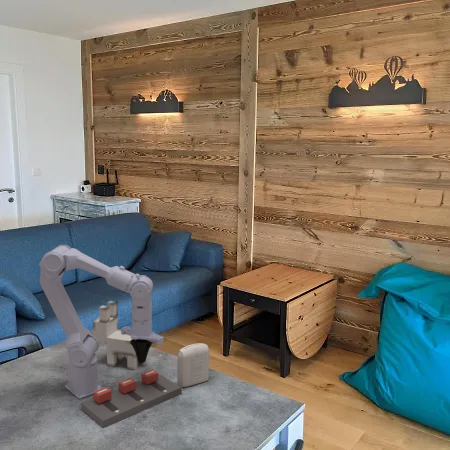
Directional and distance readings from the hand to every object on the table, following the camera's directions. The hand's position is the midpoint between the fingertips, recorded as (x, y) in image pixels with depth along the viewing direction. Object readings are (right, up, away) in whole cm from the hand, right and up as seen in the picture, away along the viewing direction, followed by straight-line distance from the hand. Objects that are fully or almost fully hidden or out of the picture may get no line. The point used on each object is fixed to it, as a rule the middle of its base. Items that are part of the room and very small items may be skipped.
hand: (142, 361), depth 143 cm
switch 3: (+2, -7, +3) cm, 7 cm away
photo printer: (+15, -9, +7) cm, 19 cm away
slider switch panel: (-2, -10, -4) cm, 11 cm away
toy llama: (-10, -6, +20) cm, 23 cm away
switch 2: (-4, -7, -2) cm, 9 cm away
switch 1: (-10, -8, -8) cm, 15 cm away
